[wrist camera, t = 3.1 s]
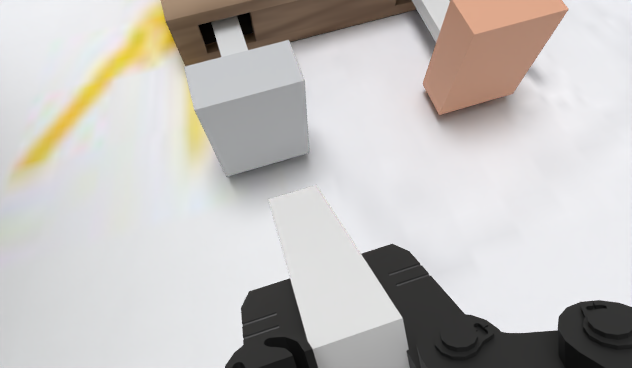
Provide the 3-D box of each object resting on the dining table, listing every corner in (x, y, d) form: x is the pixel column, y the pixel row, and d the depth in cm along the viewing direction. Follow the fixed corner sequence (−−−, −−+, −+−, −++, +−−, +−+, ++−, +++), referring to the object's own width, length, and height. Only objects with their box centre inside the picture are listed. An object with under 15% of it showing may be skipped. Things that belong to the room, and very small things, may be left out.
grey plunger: (309, 152, 30) (304, 80, 23) (226, 176, 29) (194, 110, 22) (263, 27, 35) (248, -66, 28) (192, 44, 34) (157, -45, 27)
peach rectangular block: (512, 93, 32) (568, 9, 24) (439, 115, 31) (474, 34, 24) (441, -18, 37) (470, -116, 30) (377, -2, 36) (390, -98, 29)
